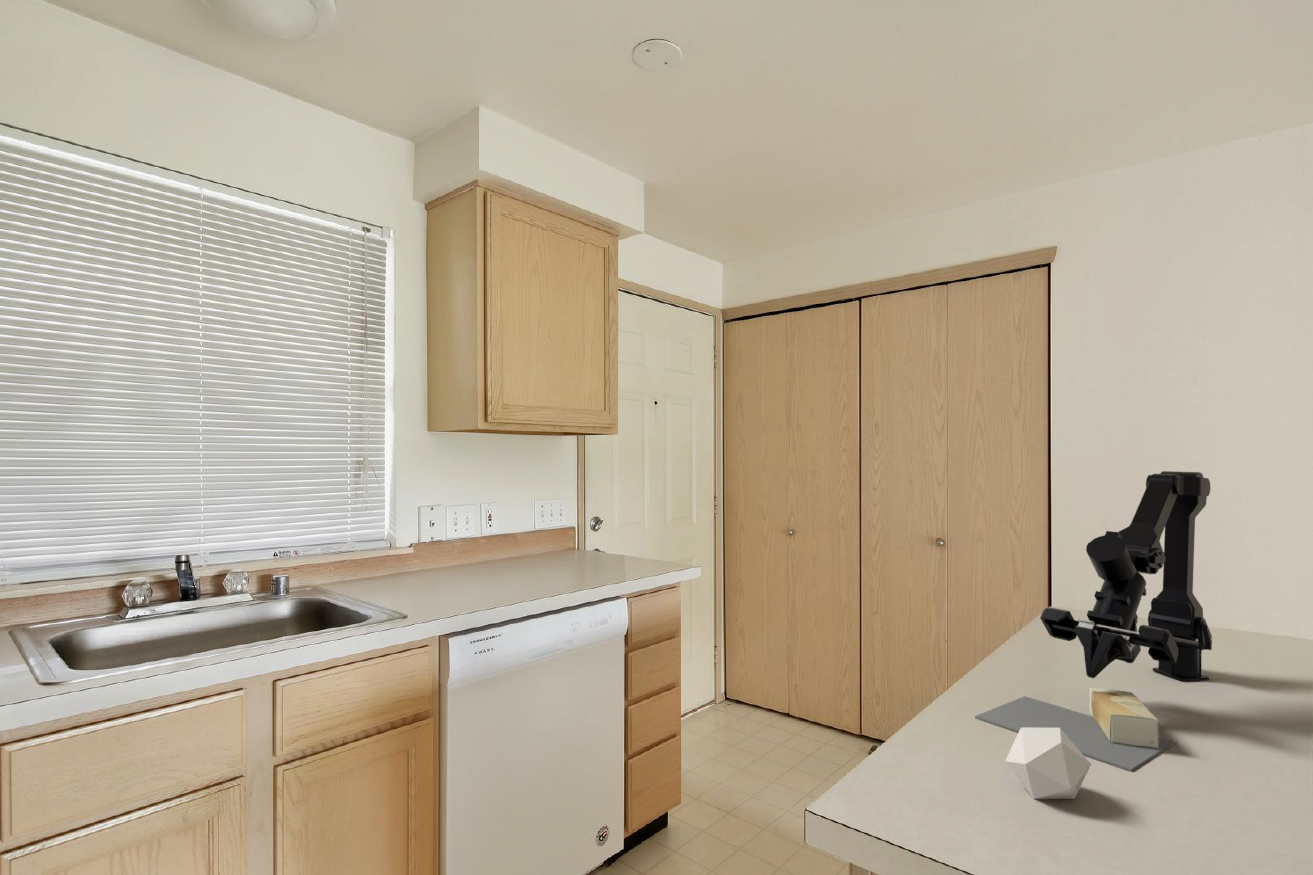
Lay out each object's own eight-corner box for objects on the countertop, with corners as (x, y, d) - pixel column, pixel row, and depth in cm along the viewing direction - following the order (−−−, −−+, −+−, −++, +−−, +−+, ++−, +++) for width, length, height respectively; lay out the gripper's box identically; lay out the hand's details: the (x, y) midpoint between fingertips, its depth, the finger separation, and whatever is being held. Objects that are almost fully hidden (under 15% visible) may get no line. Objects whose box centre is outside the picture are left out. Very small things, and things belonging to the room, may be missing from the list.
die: (1087, 824, 80) (1112, 748, 83) (1017, 781, 81) (1045, 708, 85) (1048, 814, 87) (1073, 745, 91) (985, 775, 89) (1012, 708, 92)
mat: (1024, 697, 119) (1024, 696, 119) (1175, 742, 101) (1175, 740, 101) (975, 717, 110) (975, 715, 110) (1131, 771, 92) (1131, 769, 92)
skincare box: (1132, 691, 110) (1161, 719, 98) (1132, 718, 110) (1162, 749, 98) (1086, 686, 112) (1110, 713, 100) (1086, 713, 112) (1110, 743, 100)
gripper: (1197, 640, 112) (1172, 723, 105) (1074, 616, 127) (1046, 687, 120) (1180, 598, 107) (1152, 682, 101) (1054, 578, 122) (1024, 650, 116)
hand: (1089, 676), depth 109 cm, fingers closed
